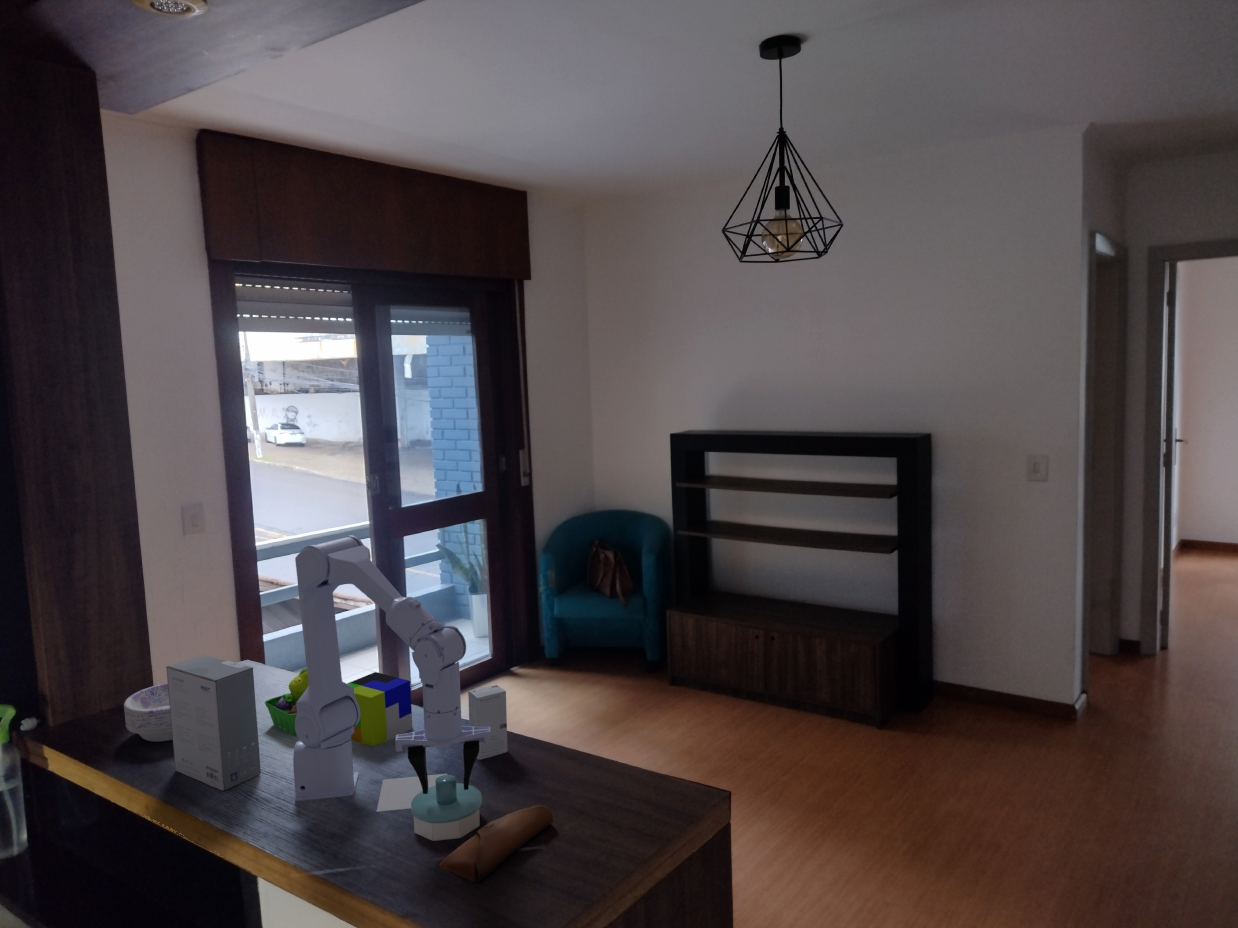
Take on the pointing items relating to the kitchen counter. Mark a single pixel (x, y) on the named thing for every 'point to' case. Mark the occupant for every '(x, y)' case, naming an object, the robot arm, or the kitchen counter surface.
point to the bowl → (447, 828)
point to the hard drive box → (214, 720)
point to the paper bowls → (149, 713)
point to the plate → (401, 792)
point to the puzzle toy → (381, 708)
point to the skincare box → (489, 718)
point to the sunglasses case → (496, 842)
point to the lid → (446, 801)
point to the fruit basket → (288, 703)
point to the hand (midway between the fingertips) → (446, 788)
